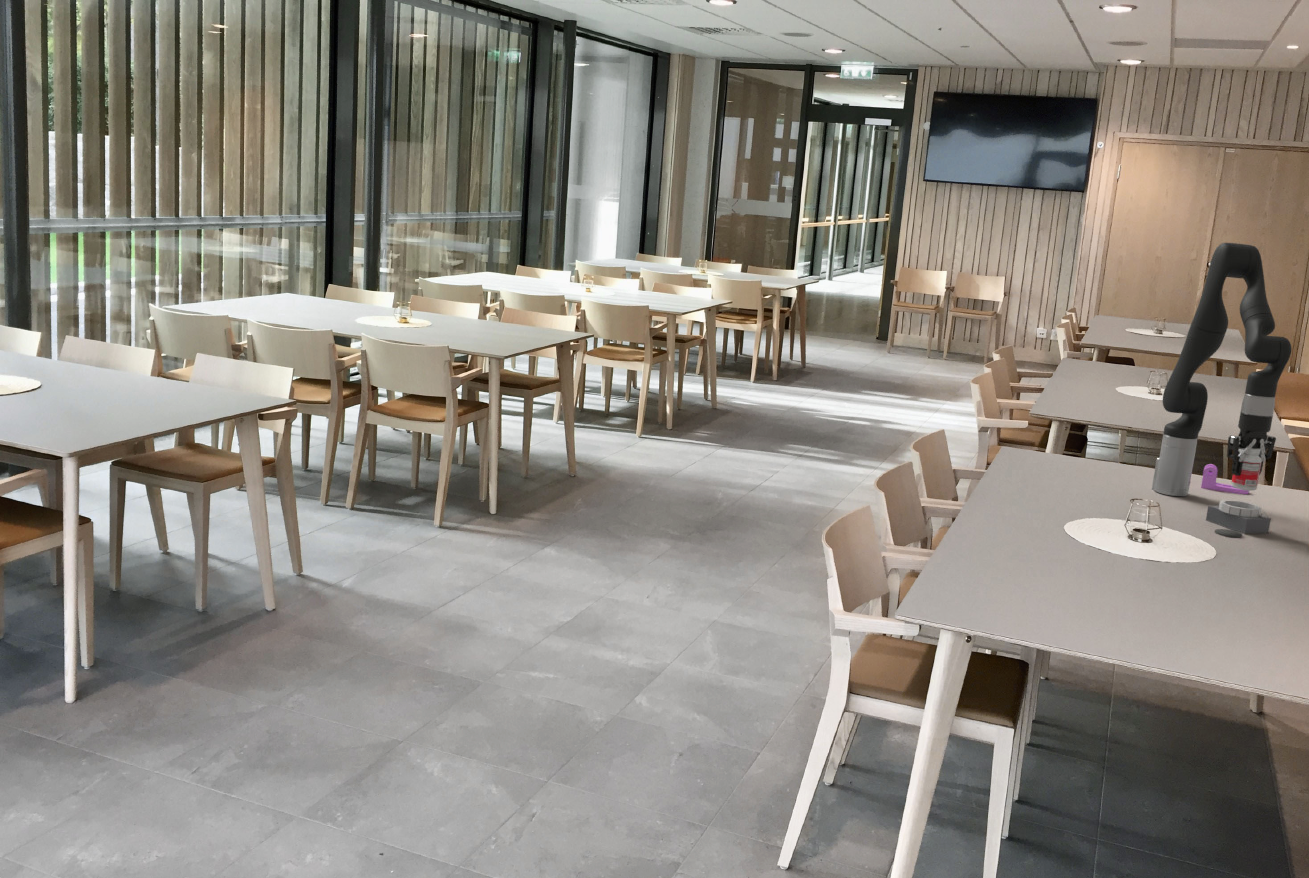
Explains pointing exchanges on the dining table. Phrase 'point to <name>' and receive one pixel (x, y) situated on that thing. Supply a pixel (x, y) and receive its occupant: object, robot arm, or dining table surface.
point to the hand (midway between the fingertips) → (1245, 474)
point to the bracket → (1210, 483)
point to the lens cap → (1228, 533)
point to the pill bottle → (1248, 471)
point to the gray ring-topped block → (1239, 517)
